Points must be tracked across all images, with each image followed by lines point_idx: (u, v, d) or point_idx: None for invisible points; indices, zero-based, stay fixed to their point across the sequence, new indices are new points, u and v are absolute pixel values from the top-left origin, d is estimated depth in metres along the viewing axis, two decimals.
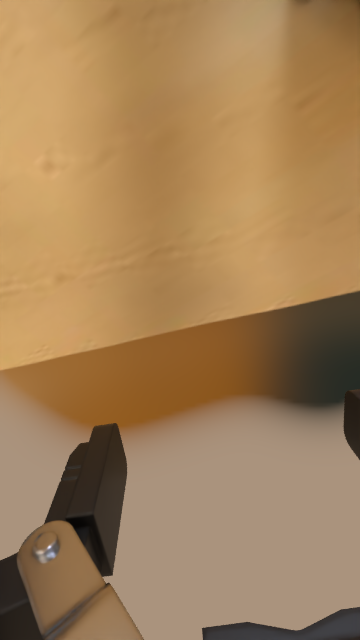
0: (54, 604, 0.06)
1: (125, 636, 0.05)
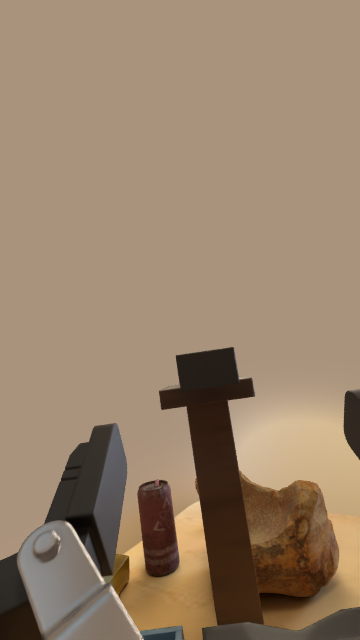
0: (54, 604, 0.06)
1: (125, 636, 0.05)
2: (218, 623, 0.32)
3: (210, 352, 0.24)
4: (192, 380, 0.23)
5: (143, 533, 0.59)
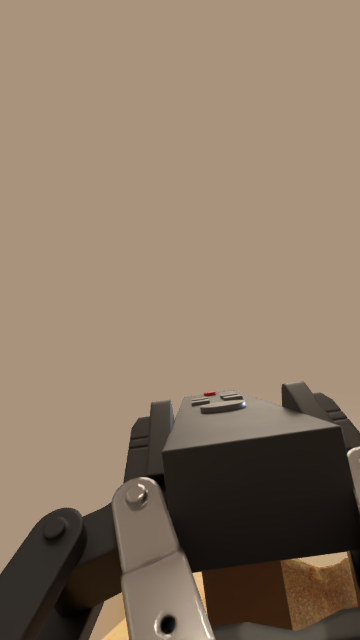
0: (135, 549, 0.07)
1: (189, 602, 0.05)
2: None
3: (269, 442, 0.08)
4: (215, 536, 0.07)
5: None
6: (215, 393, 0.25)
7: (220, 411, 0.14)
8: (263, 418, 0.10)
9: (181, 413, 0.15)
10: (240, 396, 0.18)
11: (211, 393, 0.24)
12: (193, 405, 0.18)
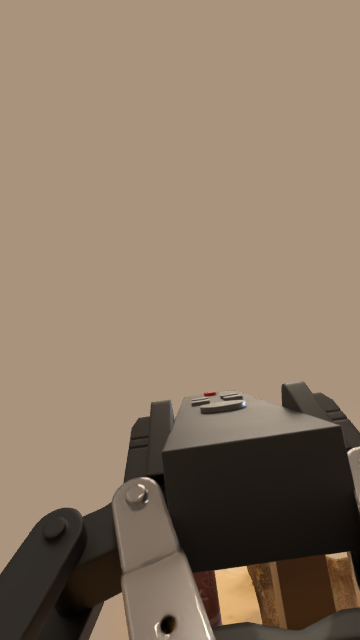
0: (135, 549, 0.07)
1: (189, 602, 0.05)
2: None
3: (269, 442, 0.08)
4: (215, 537, 0.07)
5: None
6: (215, 393, 0.25)
7: (220, 411, 0.14)
8: (263, 418, 0.10)
9: (181, 413, 0.15)
10: (240, 396, 0.18)
11: (211, 393, 0.24)
12: (193, 405, 0.18)
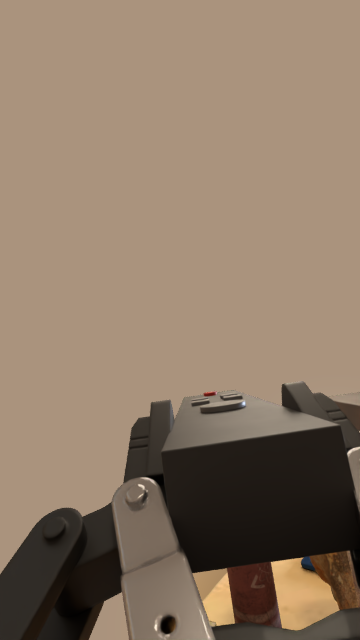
0: (135, 549, 0.07)
1: (189, 602, 0.05)
2: None
3: (268, 442, 0.08)
4: (215, 536, 0.07)
5: (234, 590, 0.44)
6: (215, 393, 0.25)
7: (220, 411, 0.14)
8: (263, 418, 0.10)
9: (181, 413, 0.15)
10: (240, 396, 0.18)
11: (211, 393, 0.24)
12: (193, 405, 0.18)
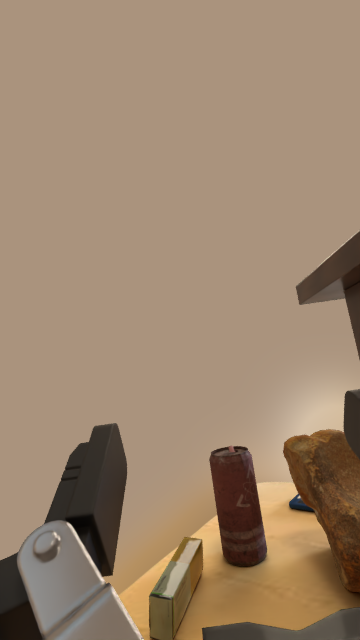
0: (54, 604, 0.06)
1: (125, 636, 0.05)
2: None
3: None
4: None
5: (221, 511, 0.45)
6: None
7: None
8: None
9: None
10: None
11: None
12: None
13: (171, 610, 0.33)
